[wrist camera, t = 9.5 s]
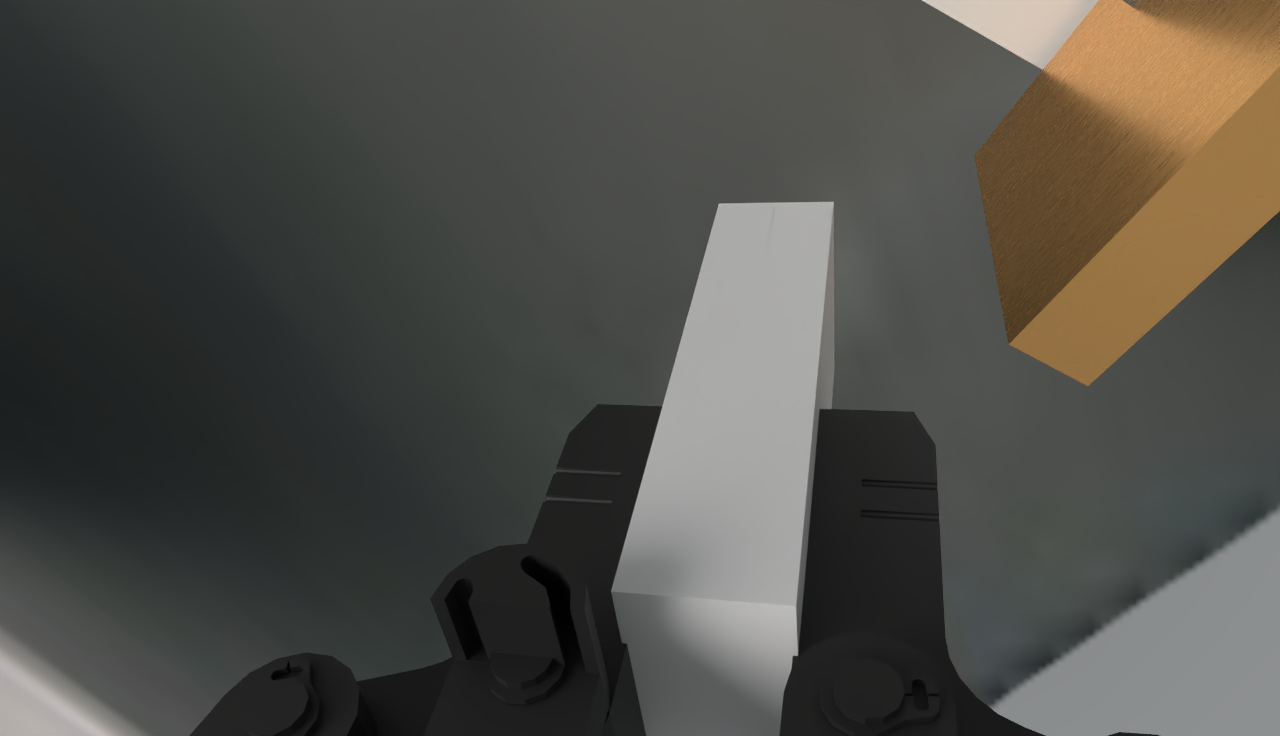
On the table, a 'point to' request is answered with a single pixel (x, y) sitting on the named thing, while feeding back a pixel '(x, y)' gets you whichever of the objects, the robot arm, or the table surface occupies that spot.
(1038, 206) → the turntable
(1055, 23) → the turntable base
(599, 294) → the table surface
